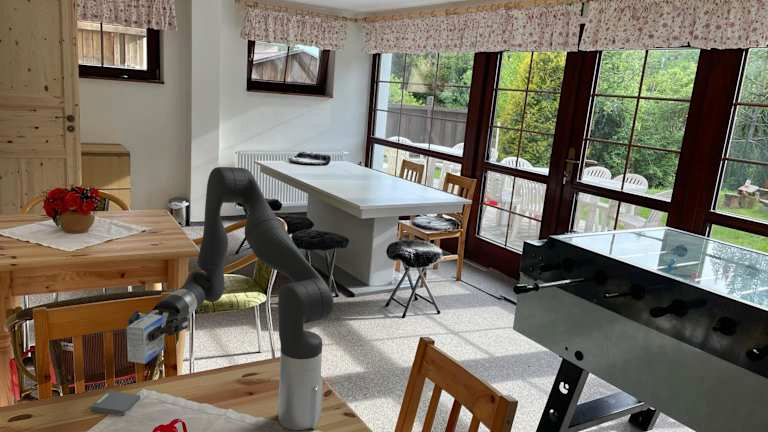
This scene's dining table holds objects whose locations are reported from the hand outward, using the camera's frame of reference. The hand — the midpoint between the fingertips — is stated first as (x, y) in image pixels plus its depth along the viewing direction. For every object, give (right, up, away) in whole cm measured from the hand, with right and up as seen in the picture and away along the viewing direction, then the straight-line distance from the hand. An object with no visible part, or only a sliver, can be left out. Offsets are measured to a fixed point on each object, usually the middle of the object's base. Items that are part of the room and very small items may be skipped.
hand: (139, 336), depth 133 cm
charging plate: (-7, -17, +4) cm, 19 cm away
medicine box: (0, -6, +4) cm, 7 cm away
